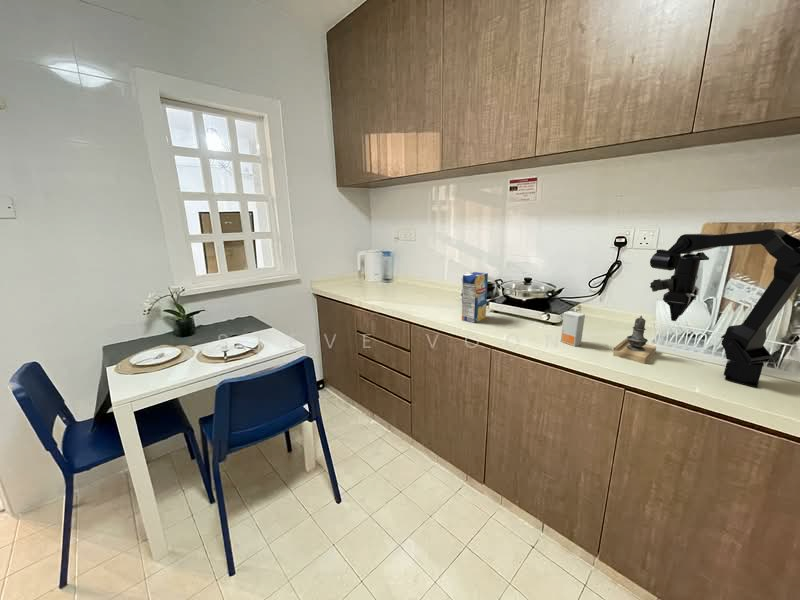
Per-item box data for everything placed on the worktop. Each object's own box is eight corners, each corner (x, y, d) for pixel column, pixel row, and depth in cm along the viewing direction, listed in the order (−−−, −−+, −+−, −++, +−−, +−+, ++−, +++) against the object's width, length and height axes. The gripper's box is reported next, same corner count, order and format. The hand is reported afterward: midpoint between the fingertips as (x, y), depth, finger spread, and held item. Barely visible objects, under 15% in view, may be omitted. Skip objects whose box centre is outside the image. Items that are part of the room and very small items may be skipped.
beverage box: (461, 320, 151) (462, 275, 146) (473, 315, 159) (475, 272, 154) (474, 323, 147) (476, 276, 141) (485, 317, 154) (488, 273, 149)
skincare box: (559, 341, 123) (563, 312, 120) (566, 339, 125) (570, 310, 122) (574, 346, 118) (578, 316, 115) (581, 344, 120) (585, 314, 117)
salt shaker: (650, 350, 108) (656, 317, 105) (635, 352, 107) (641, 318, 104) (635, 344, 114) (640, 312, 111) (621, 345, 113) (626, 313, 110)
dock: (655, 351, 112) (656, 344, 111) (644, 363, 103) (645, 355, 103) (625, 344, 119) (626, 337, 118) (612, 355, 110) (614, 347, 109)
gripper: (661, 267, 115) (654, 308, 119) (647, 273, 104) (639, 318, 108) (703, 270, 107) (693, 314, 111) (693, 277, 96) (682, 326, 99)
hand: (676, 317), depth 107 cm, fingers open, 9 cm apart
